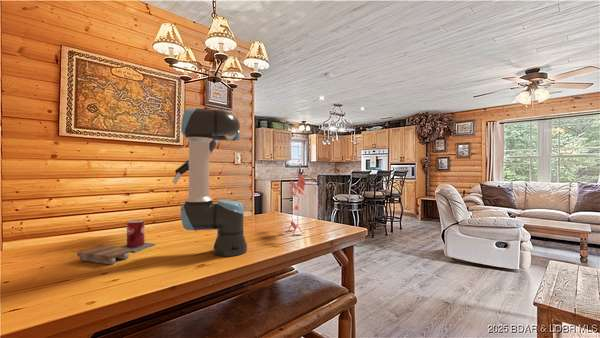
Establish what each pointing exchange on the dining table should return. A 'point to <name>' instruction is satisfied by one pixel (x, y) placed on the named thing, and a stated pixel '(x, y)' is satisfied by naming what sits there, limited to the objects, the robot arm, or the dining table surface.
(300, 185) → the figurine
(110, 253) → the slab on rollers
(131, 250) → the mat
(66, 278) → the dining table surface
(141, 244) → the soda can
